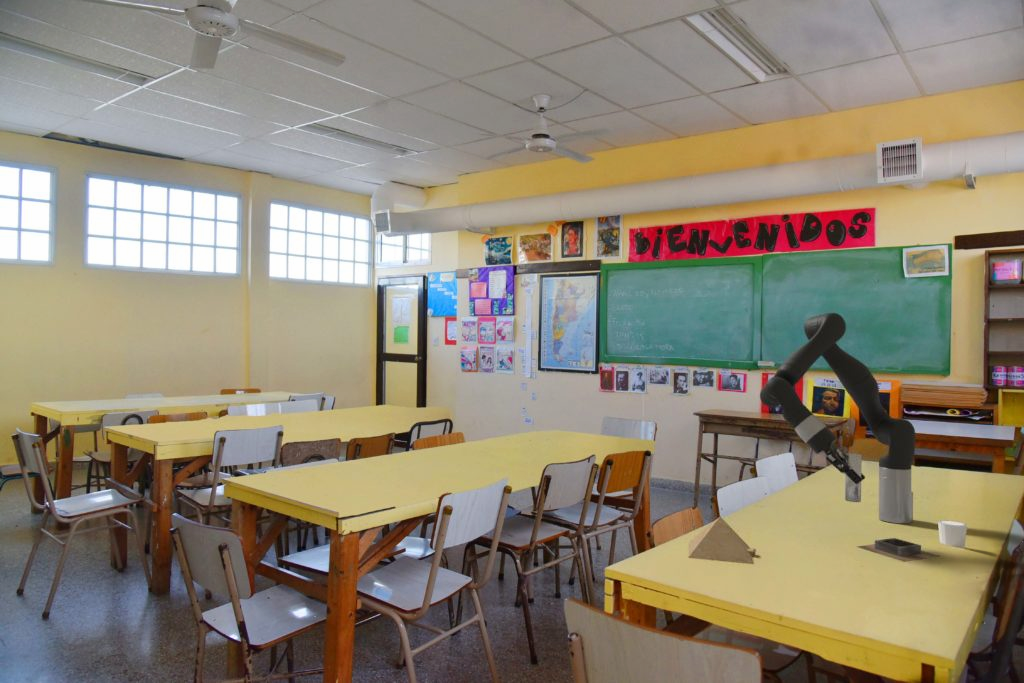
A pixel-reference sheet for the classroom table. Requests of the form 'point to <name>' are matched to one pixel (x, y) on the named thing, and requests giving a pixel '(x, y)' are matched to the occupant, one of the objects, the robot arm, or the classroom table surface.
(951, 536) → the white cup
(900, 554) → the square socket base
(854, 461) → the peg
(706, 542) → the model pyramid
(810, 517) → the classroom table surface
